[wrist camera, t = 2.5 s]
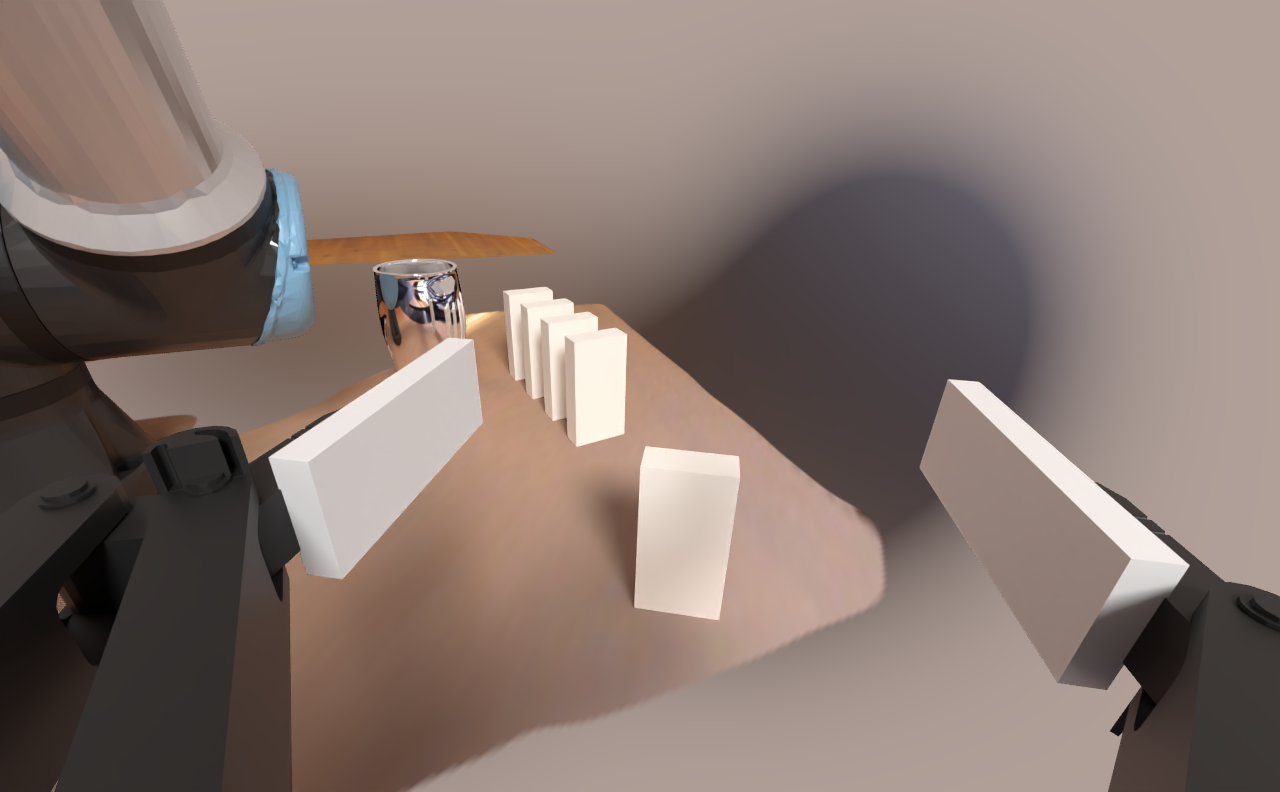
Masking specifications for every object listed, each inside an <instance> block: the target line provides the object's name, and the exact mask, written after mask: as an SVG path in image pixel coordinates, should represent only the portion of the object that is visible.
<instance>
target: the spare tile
mask: <svg viewBox="0 0 1280 792" xmlns="http://www.w3.org/2000/svg"><path fill="white" fill-rule="evenodd" d="M739 482H740V468H739V456H730V455H721V454H712V453H702V452H693V451H684V450H675V449H666V448H657V447H648V446H646V448H645V451H644V455H643V459H642V463H641V466H640V488H639V510H638V533H637V555H636V578H635V600H634V608H639V609H646V610H653V611H659V612H666V613H673V614H680V615H687V616H693V617H700V618H707V619H714V620H719V616H720V609H721V603H722V596H723V589H724V583H725V576H726V569H727V562H728V556H729V549H730V542H731V535H732V529H733V522H734V515H735V509H736V502H737V495H738V488H739Z"/></svg>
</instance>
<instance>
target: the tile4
mask: <svg viewBox="0 0 1280 792" xmlns="http://www.w3.org/2000/svg"><path fill="white" fill-rule="evenodd" d="M520 306H521V321H522V336H523V351H524V366H525V381H526V392H527V394H528V395H529V396H530V397H531V398H532V399H536V398H541V397H544V381H543V361H542V342H541V323H540V318H546V317H553V316H561V315H568V314H574V303H573V302H571V301H569V300H567V299H566V298H565V299H556V300H547V301H538V302H529V303H521V304H520Z"/></svg>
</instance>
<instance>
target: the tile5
mask: <svg viewBox="0 0 1280 792" xmlns="http://www.w3.org/2000/svg"><path fill="white" fill-rule="evenodd" d="M503 296H504V309H505V322H506V334H507V346H508V358H509V370H510V375H511V376H512V377H513V378H514V379H515V381H516V380H521V379H525V366H524V351H523V336H522V321H521V306H520V304H521V303H529V302H538V301H547V300H553V291H552V290H550V289H549V288H547V287H539V288H529V289H519V290H509V291H503Z"/></svg>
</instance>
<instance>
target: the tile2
mask: <svg viewBox="0 0 1280 792" xmlns="http://www.w3.org/2000/svg"><path fill="white" fill-rule="evenodd" d="M564 337H565V372H566V407H567V437H568V438H569V439H570V440H571V441H572V442H573V444H574V445H575V446H576V447H577V446H581V445H585V444H588V443H592V442H596V441H599V440H603V439H607V438H611V437H614V436H618V435H622V434H624V419H625V382H626V345H627V334H625V333H624V332H622V331H620V330H619V329H617V328H611V329H605V330H598V331H591V332H585V333H578V334H572V335H565V336H564Z"/></svg>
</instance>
